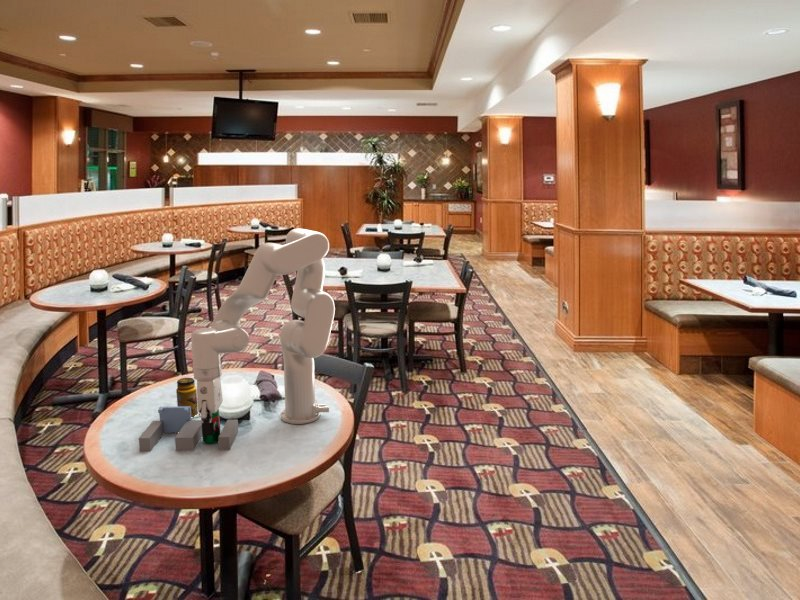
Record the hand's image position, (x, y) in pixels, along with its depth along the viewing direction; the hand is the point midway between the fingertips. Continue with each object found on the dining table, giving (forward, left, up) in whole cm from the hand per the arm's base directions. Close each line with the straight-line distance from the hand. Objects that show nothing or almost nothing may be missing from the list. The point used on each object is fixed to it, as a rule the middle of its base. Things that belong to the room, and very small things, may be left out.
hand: (211, 430), depth 180 cm
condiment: (+13, -19, -4) cm, 23 cm away
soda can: (0, 0, -4) cm, 4 cm away
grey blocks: (+6, 0, -3) cm, 7 cm away
